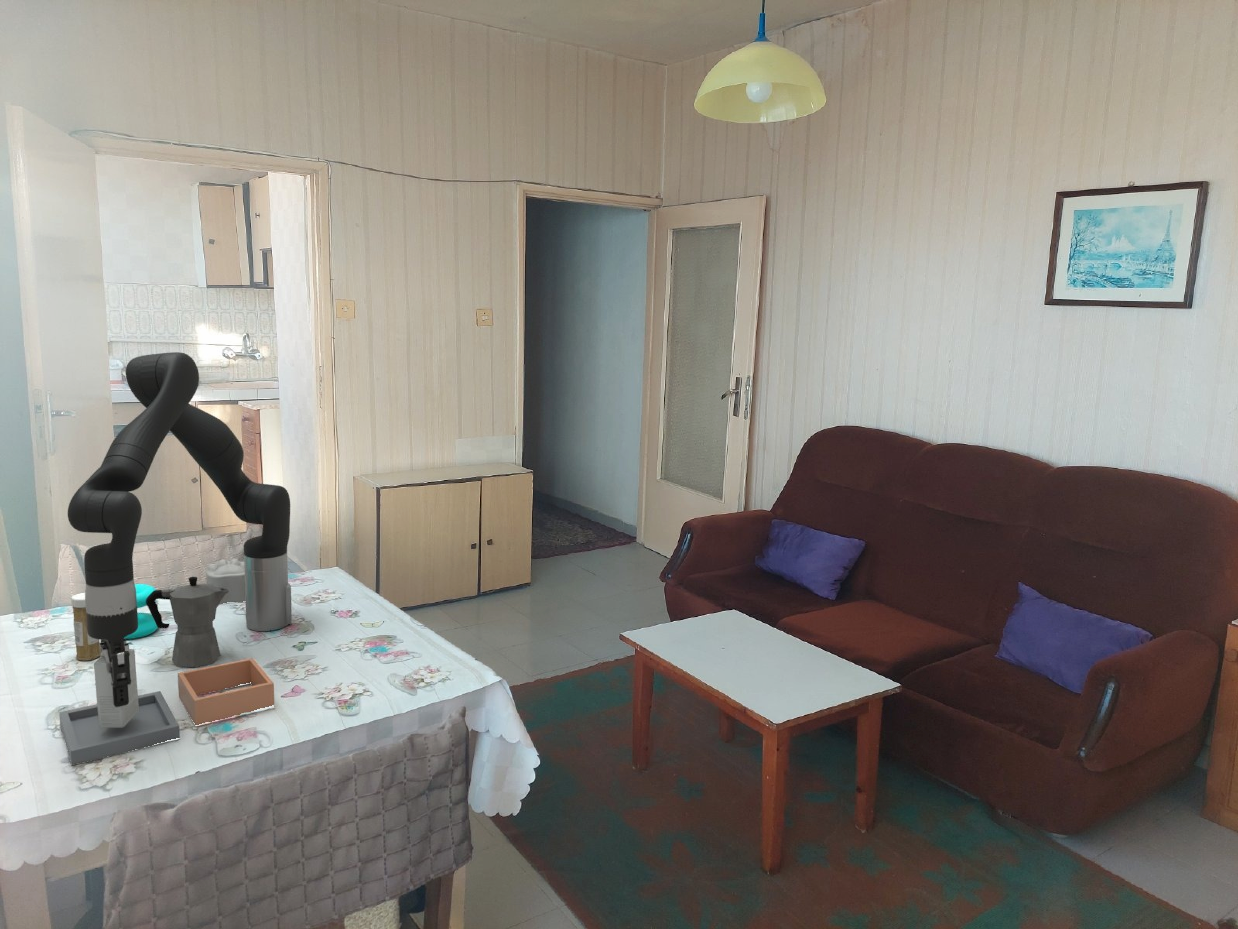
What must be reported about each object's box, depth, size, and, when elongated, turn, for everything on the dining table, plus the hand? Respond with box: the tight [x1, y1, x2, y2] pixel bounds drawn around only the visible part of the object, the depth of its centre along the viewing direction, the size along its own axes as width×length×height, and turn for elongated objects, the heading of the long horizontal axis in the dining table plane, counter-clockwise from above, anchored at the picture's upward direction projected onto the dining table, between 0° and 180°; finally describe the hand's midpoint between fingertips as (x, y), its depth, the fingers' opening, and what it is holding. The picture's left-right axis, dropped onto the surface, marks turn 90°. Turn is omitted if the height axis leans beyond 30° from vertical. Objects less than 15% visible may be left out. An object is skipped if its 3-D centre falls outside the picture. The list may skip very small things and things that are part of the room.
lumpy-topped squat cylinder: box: [205, 557, 245, 605], centre depth 222 cm, size 10×13×9 cm
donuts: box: [125, 583, 159, 640], centre depth 196 cm, size 10×10×10 cm
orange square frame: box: [177, 657, 275, 726], centre depth 165 cm, size 14×14×5 cm
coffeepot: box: [146, 576, 229, 669], centre depth 182 cm, size 15×9×18 cm, turn 110°
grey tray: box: [58, 690, 181, 766], centre depth 153 cm, size 16×16×2 cm
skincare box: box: [93, 648, 139, 728], centre depth 152 cm, size 6×4×12 cm
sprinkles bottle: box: [71, 592, 101, 662], centre depth 182 cm, size 5×5×14 cm
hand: (117, 696), depth 152 cm, fingers closed on skincare box, 7 cm apart
